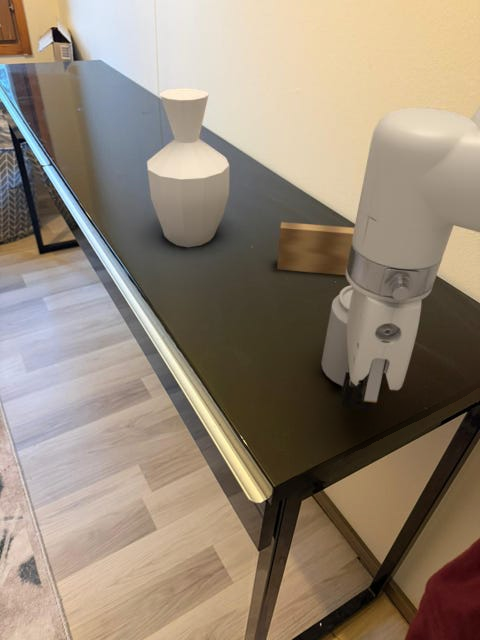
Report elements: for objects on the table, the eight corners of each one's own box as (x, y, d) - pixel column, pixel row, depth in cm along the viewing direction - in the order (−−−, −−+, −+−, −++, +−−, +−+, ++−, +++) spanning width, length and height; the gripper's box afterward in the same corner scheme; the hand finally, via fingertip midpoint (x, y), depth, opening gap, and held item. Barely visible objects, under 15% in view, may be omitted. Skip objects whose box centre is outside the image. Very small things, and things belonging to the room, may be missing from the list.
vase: (168, 262, 80) (153, 110, 64) (145, 227, 90) (127, 87, 74) (241, 246, 84) (244, 100, 69) (212, 214, 94) (209, 80, 79)
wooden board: (370, 271, 78) (380, 229, 73) (371, 277, 77) (381, 235, 72) (278, 263, 80) (281, 221, 75) (277, 269, 78) (280, 227, 73)
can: (344, 400, 56) (362, 325, 48) (309, 362, 61) (320, 288, 53) (390, 380, 58) (415, 306, 51) (353, 345, 63) (370, 273, 56)
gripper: (455, 322, 34) (397, 465, 45) (421, 228, 45) (381, 361, 57) (353, 312, 34) (321, 455, 46) (344, 222, 46) (321, 354, 57)
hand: (355, 403), depth 51 cm, fingers closed
